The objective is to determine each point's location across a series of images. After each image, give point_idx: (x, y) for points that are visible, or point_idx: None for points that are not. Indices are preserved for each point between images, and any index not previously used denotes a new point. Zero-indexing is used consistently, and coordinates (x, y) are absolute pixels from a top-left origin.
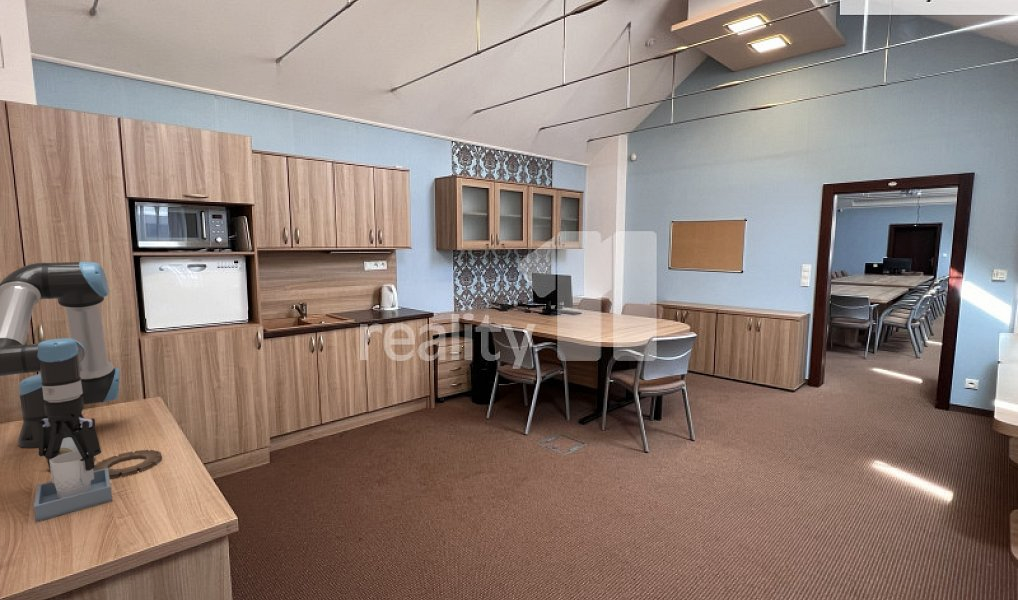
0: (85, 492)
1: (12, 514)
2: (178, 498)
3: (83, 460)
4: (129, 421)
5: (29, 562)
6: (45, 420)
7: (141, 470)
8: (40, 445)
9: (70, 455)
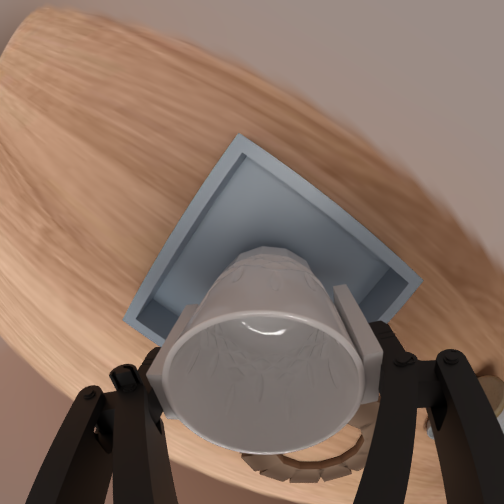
0: (158, 272)
1: (383, 164)
2: (30, 324)
3: (118, 367)
4: None
5: (66, 40)
6: None
7: None
8: (476, 404)
9: (330, 416)
